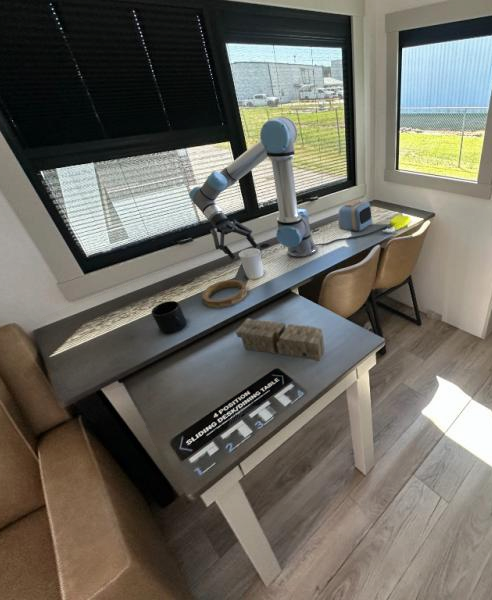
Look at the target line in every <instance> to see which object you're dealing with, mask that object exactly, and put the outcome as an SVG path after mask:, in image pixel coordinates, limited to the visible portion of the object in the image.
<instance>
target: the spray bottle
mask: <svg viewBox="0 0 492 600" xmlns="http://www.w3.org/2000/svg"><path fill="white" fill-rule="evenodd" d="M410 221H411V217H410V216H408V215H399V214H398V215H395V216H394V217H393V218H392V219H391V220H390V221H389V224H390V226H391V227H390V228H388V227H386V229H382V232H383V233H388V234H396V231H398V230H400V229H403V228H404V227H406V226H407V225H408V224H409V223H410Z"/></svg>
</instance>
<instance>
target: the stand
mask: <svg viewBox="0 0 492 600" xmlns="http://www.w3.org/2000/svg"><path fill="white" fill-rule="evenodd" d="M225 288H226V289H227V288H239V289H240V290H239V291H238V293H236V294H234V295H232V296H229V297H226V298H222V299H211V298H210V296H212V295H213V294H214V293H215V292H218V291H220V290H222V289H225ZM247 290H248V289H247V286H246V282H245V281H242V280H240V279H226V280H221V281H218V282H215V283H213V284H211V285H209V286H208V287H206V288H205V290H204V291H202V300H203V303H204V305H206V306H208V307H209V308H214V309H215V308H216V309H217V308H218V309H223V308H227V307H230V306H233V305H236V304H237V303H239V302H241V301H243V300H244V298H245V297H246V296H247V295H248V291H247Z"/></svg>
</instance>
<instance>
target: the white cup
mask: <svg viewBox="0 0 492 600" xmlns="http://www.w3.org/2000/svg"><path fill="white" fill-rule="evenodd" d="M238 257H239V260H240V263H241V265H242V269H243V271H244V274H245V276H246V278H247V279H249V280H256V279H259V278H261V277H262V276H263V275H265V274H264V273H265V272H264V267H263V261H262V256H261V250H260V249H259V248H257V247H256V248H254V247H251V248H246V249H243V250H241V251H240V252H239V253H238Z"/></svg>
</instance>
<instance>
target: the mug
mask: <svg viewBox="0 0 492 600" xmlns="http://www.w3.org/2000/svg"><path fill="white" fill-rule="evenodd" d="M150 312H151V315H152V317H153V319H154V322H155V324H156V326H157V327H158V329H159V331H160V332H161V334H164V335H172V334H176V333H178V332H180V331H182V330H183V329H184V328H185V327H186V326H187V324H188V322H187V319H186V317H185V315H184V313H183V309H182V307H181V306H180V304H179V302H178V301H175V300H168V301H165V302H161V303H159V304H157V305H155V306H154V307H153V308H152V310H151V311H150Z"/></svg>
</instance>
